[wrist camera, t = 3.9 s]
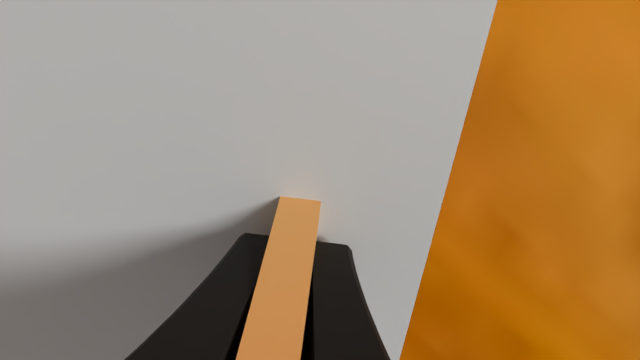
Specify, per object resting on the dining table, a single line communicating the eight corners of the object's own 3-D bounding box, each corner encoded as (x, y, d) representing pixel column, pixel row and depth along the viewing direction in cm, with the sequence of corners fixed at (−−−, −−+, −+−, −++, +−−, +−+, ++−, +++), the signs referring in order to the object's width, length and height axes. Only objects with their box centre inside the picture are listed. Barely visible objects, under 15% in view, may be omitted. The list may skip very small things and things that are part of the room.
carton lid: (369, 450, 14) (372, 655, 10) (-96, 391, 14) (-264, 571, 10) (532, -171, 6) (803, -291, 2) (-487, -278, 7) (-1699, -544, 3)
